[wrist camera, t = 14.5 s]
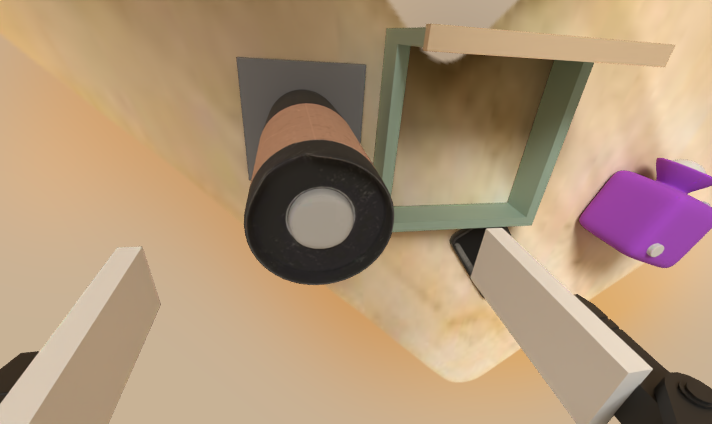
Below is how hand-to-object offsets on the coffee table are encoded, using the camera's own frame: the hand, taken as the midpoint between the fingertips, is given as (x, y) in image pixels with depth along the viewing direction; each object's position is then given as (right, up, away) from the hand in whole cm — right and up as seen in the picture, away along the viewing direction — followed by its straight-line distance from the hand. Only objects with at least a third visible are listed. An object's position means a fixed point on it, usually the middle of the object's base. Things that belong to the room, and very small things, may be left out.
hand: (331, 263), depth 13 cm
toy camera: (+39, +5, +34) cm, 52 cm away
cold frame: (+13, +11, +24) cm, 30 cm away
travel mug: (-4, +11, +20) cm, 24 cm away
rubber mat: (-4, +11, +20) cm, 24 cm away
